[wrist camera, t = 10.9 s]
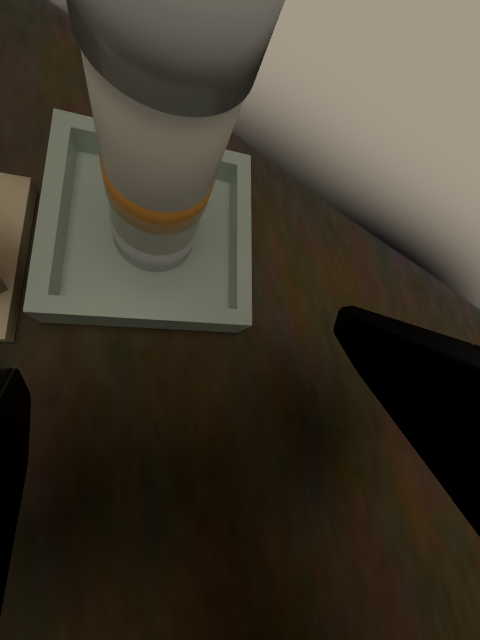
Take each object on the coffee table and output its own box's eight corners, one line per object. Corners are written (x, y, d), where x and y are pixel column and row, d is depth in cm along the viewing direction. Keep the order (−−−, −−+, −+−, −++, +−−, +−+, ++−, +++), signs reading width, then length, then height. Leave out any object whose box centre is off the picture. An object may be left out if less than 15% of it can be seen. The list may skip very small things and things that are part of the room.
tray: (237, 332, 17) (252, 325, 15) (41, 322, 15) (22, 311, 12) (238, 181, 20) (250, 155, 17) (65, 145, 17) (53, 108, 14)
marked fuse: (199, 267, 17) (316, 36, 6) (119, 276, 15) (59, -14, 4) (185, 199, 17) (266, -138, 6) (106, 201, 16) (22, -236, 5)
